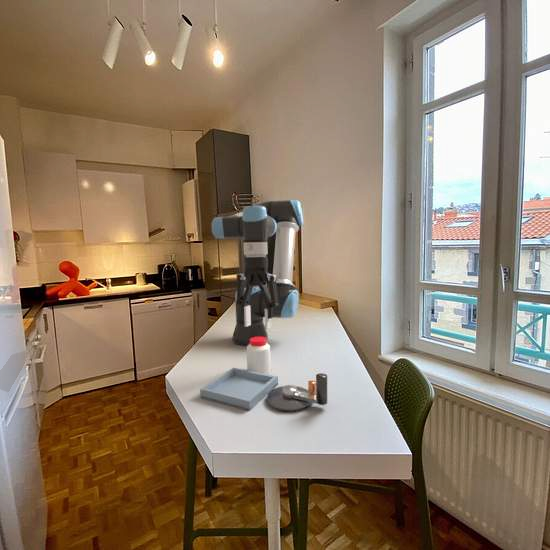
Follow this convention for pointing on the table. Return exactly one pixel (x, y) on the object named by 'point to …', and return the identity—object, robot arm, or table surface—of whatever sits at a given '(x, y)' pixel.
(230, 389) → the tray
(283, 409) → the crank base
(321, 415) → the table surface
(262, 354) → the pill bottle
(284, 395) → the crank
